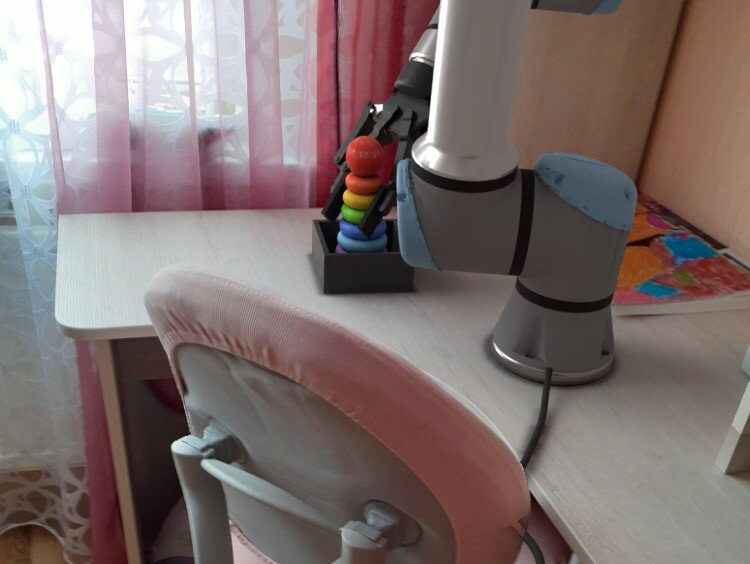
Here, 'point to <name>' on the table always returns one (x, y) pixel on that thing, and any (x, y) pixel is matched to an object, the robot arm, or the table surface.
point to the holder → (359, 263)
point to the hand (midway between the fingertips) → (345, 225)
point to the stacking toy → (361, 197)
